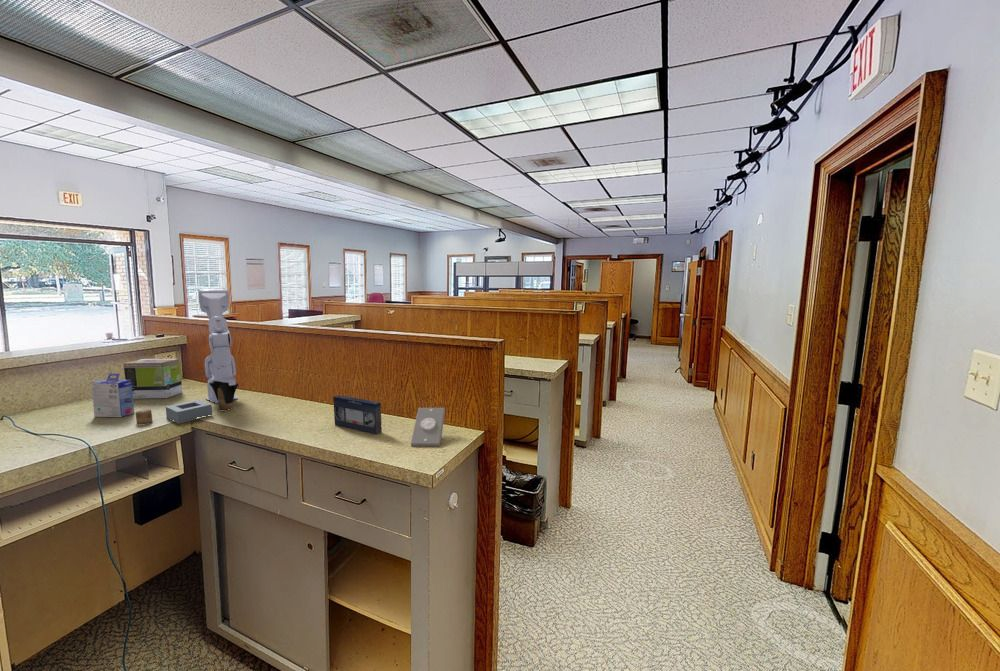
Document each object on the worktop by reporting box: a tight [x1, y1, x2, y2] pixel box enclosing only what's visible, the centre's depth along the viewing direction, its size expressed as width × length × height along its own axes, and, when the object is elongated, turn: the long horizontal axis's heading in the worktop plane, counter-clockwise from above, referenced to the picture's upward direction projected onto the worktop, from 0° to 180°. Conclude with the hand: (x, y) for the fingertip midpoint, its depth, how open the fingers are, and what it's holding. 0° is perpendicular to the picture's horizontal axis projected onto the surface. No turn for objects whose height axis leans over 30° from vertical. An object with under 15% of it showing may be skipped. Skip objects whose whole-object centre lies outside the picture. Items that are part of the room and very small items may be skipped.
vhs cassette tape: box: [333, 394, 383, 435], centre depth 135 cm, size 18×3×10 cm, turn 62°
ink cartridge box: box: [91, 373, 135, 418], centre depth 145 cm, size 10×6×14 cm, turn 89°
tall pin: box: [217, 388, 233, 411], centre depth 153 cm, size 4×4×8 cm
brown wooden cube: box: [135, 409, 153, 426], centre depth 139 cm, size 4×4×4 cm
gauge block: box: [165, 399, 213, 424], centre depth 145 cm, size 10×10×4 cm
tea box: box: [123, 357, 183, 400], centre depth 169 cm, size 15×10×15 cm, turn 93°
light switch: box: [410, 407, 446, 447], centre depth 128 cm, size 8×6×14 cm
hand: (225, 401), depth 153 cm, fingers open, 6 cm apart
